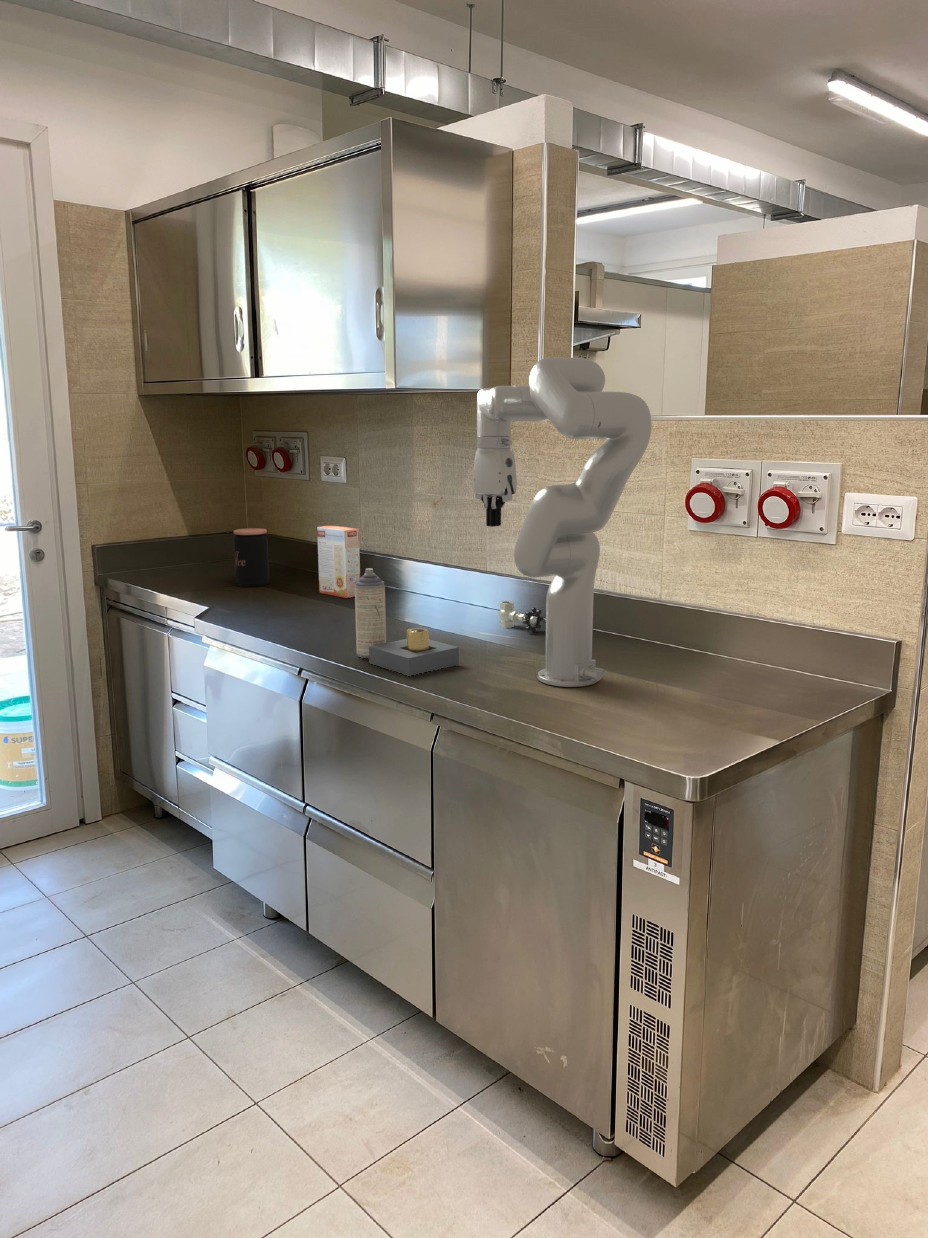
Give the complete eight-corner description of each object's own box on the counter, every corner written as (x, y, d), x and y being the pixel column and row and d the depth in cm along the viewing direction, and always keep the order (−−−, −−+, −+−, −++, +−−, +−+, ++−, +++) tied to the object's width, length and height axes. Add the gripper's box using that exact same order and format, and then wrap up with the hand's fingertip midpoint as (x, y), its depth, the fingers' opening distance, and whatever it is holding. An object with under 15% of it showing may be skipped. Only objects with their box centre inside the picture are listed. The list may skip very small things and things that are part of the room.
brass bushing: (433, 666, 202) (433, 630, 200) (416, 670, 199) (416, 633, 197) (419, 662, 205) (419, 626, 204) (402, 665, 202) (402, 630, 201)
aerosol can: (391, 653, 213) (389, 567, 209) (378, 660, 207) (376, 572, 203) (365, 650, 216) (362, 565, 212) (351, 657, 210) (348, 570, 205)
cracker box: (362, 596, 282) (360, 528, 277) (346, 599, 278) (343, 529, 273) (334, 590, 291) (332, 524, 287) (318, 593, 287) (316, 526, 283)
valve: (492, 627, 239) (525, 635, 231) (492, 602, 238) (525, 609, 229) (510, 623, 244) (543, 631, 235) (510, 599, 242) (543, 605, 234)
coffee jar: (235, 583, 306) (232, 528, 302) (268, 581, 309) (265, 527, 305) (237, 588, 296) (234, 532, 292) (271, 586, 299) (268, 531, 295)
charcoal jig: (458, 664, 203) (458, 647, 202) (408, 676, 194) (408, 658, 193) (418, 653, 213) (418, 636, 212) (369, 664, 204) (368, 646, 203)
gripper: (529, 444, 205) (528, 527, 209) (482, 443, 215) (482, 522, 219) (505, 445, 200) (505, 529, 204) (459, 444, 210) (459, 524, 214)
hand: (493, 525), depth 211 cm, fingers closed
